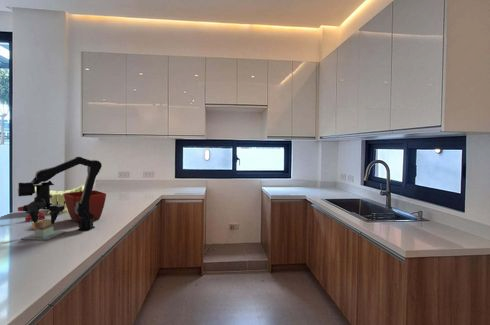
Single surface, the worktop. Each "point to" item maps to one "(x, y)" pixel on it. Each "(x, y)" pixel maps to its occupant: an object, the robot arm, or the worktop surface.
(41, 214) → the toy fire truck
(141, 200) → the worktop surface
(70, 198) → the plant pot
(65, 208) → the slatted curved stool
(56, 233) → the baseplate
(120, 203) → the worktop surface
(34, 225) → the orange brick
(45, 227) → the walnut brick
